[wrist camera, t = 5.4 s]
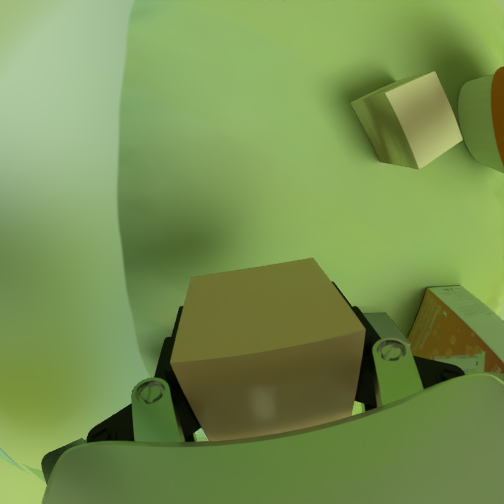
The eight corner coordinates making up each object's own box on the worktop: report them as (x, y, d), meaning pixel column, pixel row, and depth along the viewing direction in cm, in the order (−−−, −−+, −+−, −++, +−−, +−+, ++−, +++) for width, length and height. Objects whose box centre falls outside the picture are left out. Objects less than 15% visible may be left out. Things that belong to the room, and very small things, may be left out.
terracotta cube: (315, 349, 13) (348, 428, 8) (216, 366, 13) (215, 451, 8) (312, 257, 11) (365, 329, 6) (191, 277, 11) (170, 362, 6)
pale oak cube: (421, 136, 18) (462, 139, 13) (379, 161, 18) (419, 169, 14) (395, 81, 16) (434, 71, 11) (349, 102, 16) (385, 93, 12)
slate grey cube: (368, 351, 25) (388, 384, 21) (325, 354, 25) (341, 391, 20) (385, 312, 23) (411, 343, 19) (340, 312, 23) (362, 348, 18)
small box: (425, 286, 23) (509, 367, 11) (461, 284, 24) (536, 349, 11) (400, 349, 26) (457, 434, 14) (437, 342, 26) (493, 412, 14)
